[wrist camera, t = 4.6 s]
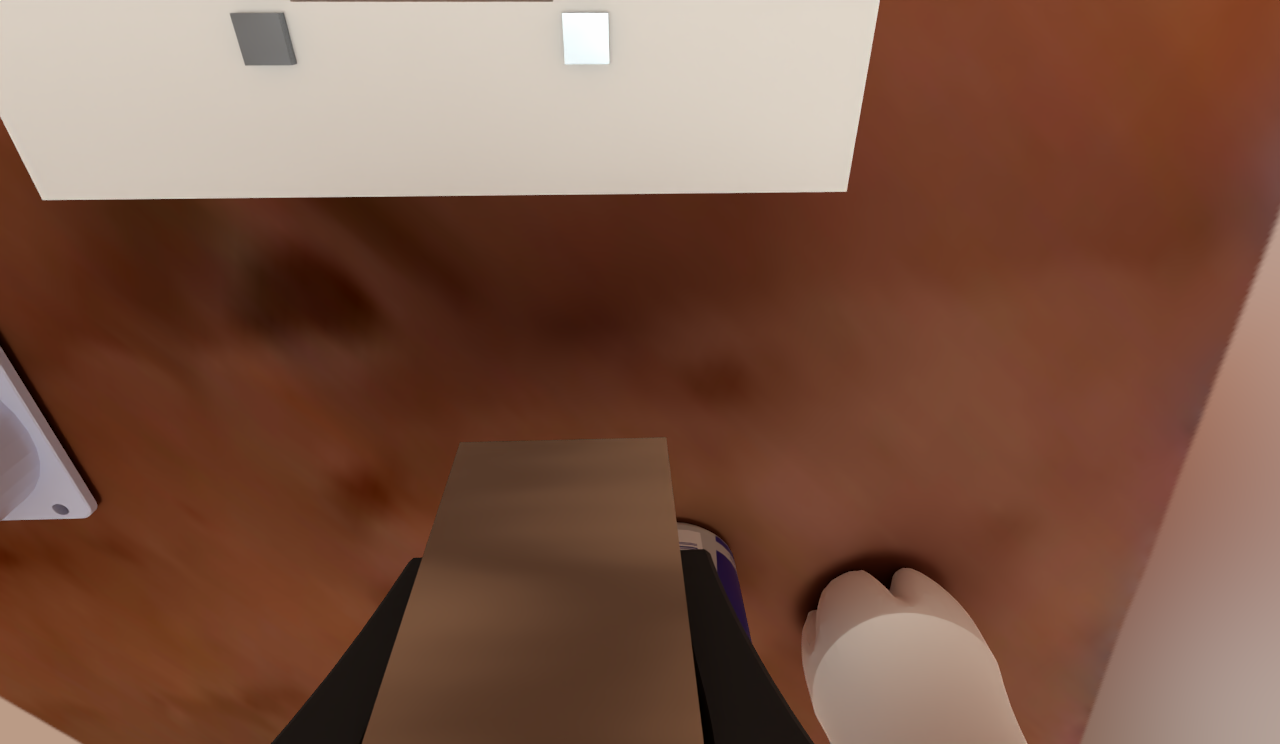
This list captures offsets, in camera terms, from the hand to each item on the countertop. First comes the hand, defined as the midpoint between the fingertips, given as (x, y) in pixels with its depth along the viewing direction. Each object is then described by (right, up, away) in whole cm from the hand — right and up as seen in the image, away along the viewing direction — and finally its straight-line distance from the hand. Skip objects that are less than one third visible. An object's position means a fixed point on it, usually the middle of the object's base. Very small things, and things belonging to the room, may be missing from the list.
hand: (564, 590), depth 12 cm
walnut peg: (0, +1, +2) cm, 2 cm away
